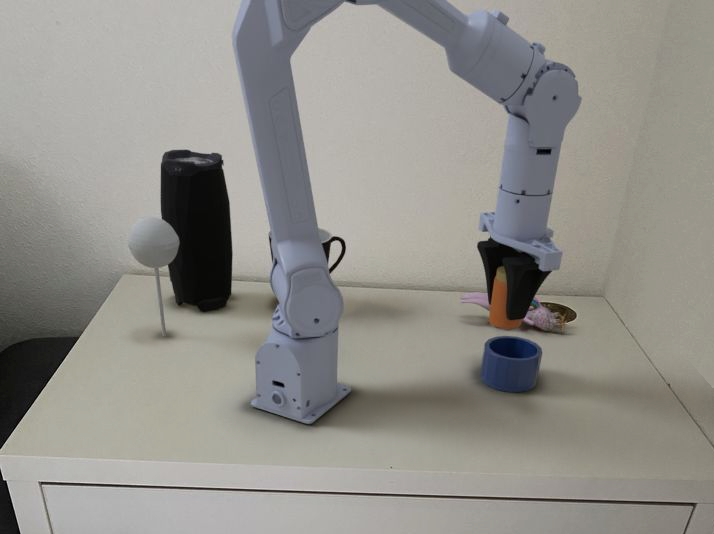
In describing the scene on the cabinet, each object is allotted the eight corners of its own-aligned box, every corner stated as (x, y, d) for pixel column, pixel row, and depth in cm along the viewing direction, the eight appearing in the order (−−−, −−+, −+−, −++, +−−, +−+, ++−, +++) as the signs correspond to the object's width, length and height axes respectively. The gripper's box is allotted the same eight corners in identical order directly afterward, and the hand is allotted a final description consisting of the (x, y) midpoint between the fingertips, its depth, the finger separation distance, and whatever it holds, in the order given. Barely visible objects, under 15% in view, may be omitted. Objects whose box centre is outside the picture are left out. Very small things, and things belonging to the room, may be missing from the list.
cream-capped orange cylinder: (514, 331, 88) (523, 279, 85) (483, 324, 89) (490, 271, 86) (525, 320, 91) (534, 269, 87) (495, 313, 92) (502, 262, 89)
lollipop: (194, 328, 102) (183, 213, 94) (180, 347, 98) (168, 227, 89) (148, 324, 103) (133, 208, 94) (133, 343, 98) (115, 222, 89)
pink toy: (557, 329, 112) (458, 303, 112) (572, 291, 108) (469, 263, 108) (559, 347, 107) (455, 319, 107) (575, 307, 103) (467, 278, 103)
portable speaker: (244, 295, 113) (237, 152, 101) (216, 318, 105) (205, 167, 94) (191, 286, 114) (178, 144, 103) (159, 308, 107) (142, 158, 96)
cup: (525, 397, 91) (531, 365, 89) (471, 382, 94) (476, 351, 91) (543, 375, 97) (549, 344, 94) (491, 361, 99) (496, 331, 96)
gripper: (597, 205, 77) (570, 332, 85) (523, 170, 88) (506, 286, 96) (536, 209, 75) (514, 339, 83) (468, 173, 86) (455, 291, 94)
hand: (506, 311), depth 89 cm, fingers closed on cream-capped orange cylinder, 4 cm apart
